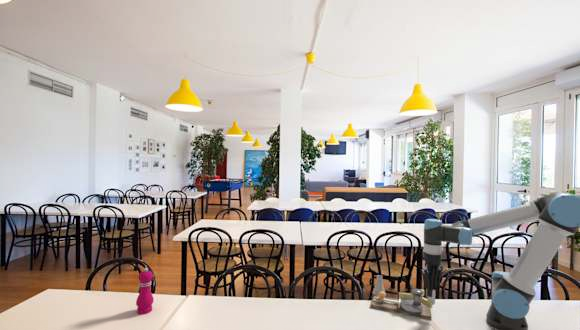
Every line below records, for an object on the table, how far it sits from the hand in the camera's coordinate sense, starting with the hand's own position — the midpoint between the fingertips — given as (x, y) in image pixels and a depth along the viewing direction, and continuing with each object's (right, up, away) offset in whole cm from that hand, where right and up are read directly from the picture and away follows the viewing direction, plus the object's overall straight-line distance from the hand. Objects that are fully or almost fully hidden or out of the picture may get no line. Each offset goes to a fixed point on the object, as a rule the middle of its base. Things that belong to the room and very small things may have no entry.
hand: (431, 303), depth 138 cm
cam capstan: (-4, -5, +4) cm, 7 cm away
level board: (-11, -6, +8) cm, 15 cm away
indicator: (-16, -4, +10) cm, 20 cm away
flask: (-17, -6, +23) cm, 30 cm away
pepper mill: (-133, -3, -1) cm, 133 cm away
